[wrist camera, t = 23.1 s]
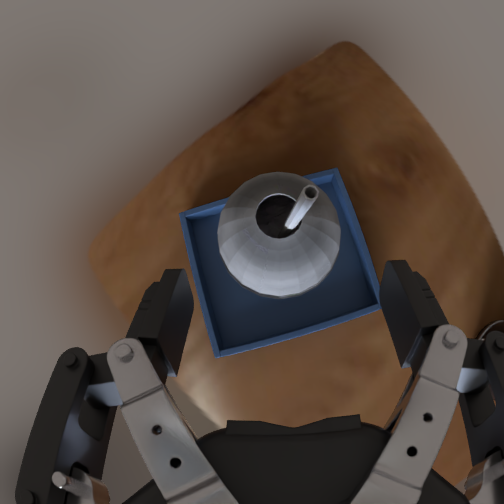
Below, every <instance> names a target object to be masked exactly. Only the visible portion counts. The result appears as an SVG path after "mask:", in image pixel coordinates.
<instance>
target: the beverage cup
mask: <svg viewBox="0 0 504 504" xmlns="http://www.w3.org/2000/svg"><path fill="white" fill-rule="evenodd" d="M217 234H218V237H217V238H218V246H219V253H220V257H221V259H222V261H223V263H224V265H225V267H226V269H227V271H228V273H229V274H230V275H231V276H232V277H233V278H234V279H235V280H236V281H237V282H238V283H239V284H240V285H241V286H242V287H243V288H245V289H247V290H249V291H251V292H253V293H255V294H257V295H259V296H261V297H268V298H275V299H285V298H290V297H296V296H301V295H302V294H304V293H306V292H308V291H310V290H312V289H314V288H315V287H317V286H318V285H319V284H320V283H321V282H322V281H323V280H324V279H325V278H326V277H327V276H328V275H329V274H330V272H331V271H332V269H333V266H334V264H335V262H336V260H337V258H338V255H339V249H340V239H341V228H340V224H339V220H338V215H337V211H336V209H335V207H334V206H333V204H332V202H331V201H330V199H329V197H328V196H327V194H326V193H325V192H324V191H323V190H321V189H320V188H319V187H318V186H317V185H316V184H314V183H313V182H312V181H310V180H308V179H306V178H304V177H301V176H299V175H297V174H292V173H284V172H273V173H267V174H261V175H258V176H256V177H254V178H252V179H250V180H248V181H246V182H244V183H243V184H242V185H241V186H240V187H239V188H238V189H237V190H236V191H235V192H234V193H233V194H231V196H230V197H229V199H228V201H227V202H226V204H225V206H224V208H223V210H222V211H221V215H220V220H219V225H218V231H217Z"/></svg>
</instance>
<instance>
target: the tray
mask: <svg viewBox="0 0 504 504" xmlns="http://www.w3.org/2000/svg"><path fill="white" fill-rule="evenodd" d="M302 177H304V178H306V179H308V180H310V181H312V182H313V183H314V184H316V185H317V186H318V187H319V188H320V189H321V190H323V191H324V192H325V193H326V194H327V196H328V197H329V199H330V201H331V202H332V204H333V206H334V207H335V209H336V211H337V215H338V220H339V224H340V228H341V239H340V249H339V255H338V258H337V260H336V262H335V264H334V266H333V269H332V271H331V272H330V274H329V275H328V276H327V277H326V278H325V279H324V280H323V281H322V282H321V283H320V284H319V285H318V286H317V287H315V288H314V289H312V290H310V291H308V292H306V293H304V294H302V295H301V296H296V297H290V298H285V299H275V298H268V297H261V296H259V295H257V294H255V293H253V292H251V291H249V290H247V289H245V288H243V287H242V286H241V285H240V284H239V283H238V282H237V281H236V280H235V279H234V278H233V277H232V276H231V275H230V274H229V273H228V271H227V269H226V267H225V265H224V263H223V261H222V259H221V257H220V253H219V246H218V238H217V237H218V234H217V231H218V225H219V220H220V215H221V211H222V210H223V208H224V206H225V204H226V202H227V201H228V199H229V197H228V198H224V199H221V200H218V201H215V202H212V203H208V204H205V205H202V206H199V207H196V208H193V209H190V210H187V211H185V212H181V213H179V216H180V221H181V225H182V230H183V235H184V239H185V243H186V248H187V252H188V257H189V261H190V265H191V269H192V273H193V278H194V282H195V286H196V290H197V294H198V297H199V301H200V305H201V309H202V313H203V317H204V320H205V324H206V328H207V331H208V335H209V338H210V342H211V346H212V349H213V352H214V356H215V358H219V357H224V356H228V355H232V354H236V353H240V352H244V351H248V350H252V349H256V348H260V347H264V346H267V345H271V344H275V343H278V342H282V341H285V340H289V339H292V338H296V337H299V336H302V335H306V334H309V333H312V332H315V331H319V330H322V329H325V328H328V327H331V326H334V325H337V324H340V323H343V322H346V321H349V320H352V319H355V318H357V317H360V316H363V315H366V314H369V313H371V312H374V311H377V310H379V309H382V308H381V305H380V301H379V290H380V286H379V282H378V279H377V276H376V272H375V269H374V266H373V263H372V260H371V257H370V254H369V251H368V248H367V245H366V242H365V239H364V236H363V233H362V230H361V227H360V224H359V222H358V219H357V216H356V214H355V211H354V208H353V206H352V203H351V200H350V198H349V195H348V193H347V190H346V188H345V185H344V183H343V180H342V178H341V175H340V173H339V171H338V168H333V169H329V170H325V171H321V172H317V173H313V174H309V175H305V176H302Z"/></svg>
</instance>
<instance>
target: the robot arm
mask: <svg viewBox="0 0 504 504" xmlns="http://www.w3.org/2000/svg"><path fill="white" fill-rule="evenodd" d="M430 289H431V288H430V287H429V285H428V283H427V281H426V279H425V278H423V277H422V276H421V275H420V274H419V273H418V272H412V270H411V269H410V267H409V265H408V263H407V262H406V260H392V261H387V262H386V264H385V269H384V273H383V278H382V282H381V286H380V290H379V301H380V305H381V308H382V311H383V314H384V316H385V319H386V322H387V325H388V328H389V331H390V334H391V337H392V340H393V343H394V346H395V349H396V352H397V356H398V359H399V362H400V366H401V368H407V367H411V369H412V374H411V376H410V378H409V380H408V382H407V385H406V387H405V389H404V391H403V393H402V395H401V397H400V399H399V401H398V403H397V405H396V407H395V409H394V411H393V413H392V415H391V416H390V418H389V419H388V421H387V423H386V424H385V426H384V428H381V427H379V426H376V425H373V424H369V423H365V422H361V420H360V414H357V415H350V416H341V417H331V418H326V419H323V420H320V421H317V422H313V423H310V424H307V425H303V426H300V427H296V428H292V427H286V426H281V425H276V424H271V423H267V422H262V421H236V420H227V427H226V428H223V429H219V430H216V431H213V432H211V433H208V434H206V435H204V436H203V437H201V438H199V439H198V437H197V436H196V434H195V433H194V431H193V430H192V428H191V427H190V425H189V424H188V422H187V421H186V419H185V418H184V416H183V414H182V413H181V411H180V410H179V408H178V406H177V404H176V403H175V401H174V399H173V397H172V395H171V394H170V392H169V390H168V388H167V387H166V385H165V383H166V379H167V376H172V377H177V374H178V370H179V366H180V362H181V357H182V353H183V349H184V345H185V341H186V337H187V334H188V330H189V326H190V322H191V318H192V314H193V309H194V300H193V295H192V292H191V288H190V285H189V281H188V278H187V274H186V271H185V269H166V270H165V271H164V273H163V275H162V278H161V280H160V282H154V283H153V284H152V285H151V286H150V287H149V288H148V289H147V290H146V291H145V293H144V296H143V298H142V302H140V305H139V307H138V310H137V311H136V314H135V316H134V318H133V321H132V323H131V325H130V328H129V330H128V332H127V335H126V338H124V339H120V340H118V341H117V342H115V343H114V344H113V345H112V346H111V347H110V349H109V351H108V352H106V353H102V354H96V355H91V356H88V354H87V353H86V352H85V351H84V350H83V349H82V348H78V347H75V348H70V349H68V350H66V351H65V352H64V353H63V354H62V355H61V356H60V357H59V359H58V361H57V364H56V366H55V368H54V371H53V373H52V376H51V378H50V381H49V383H48V385H47V388H46V390H45V393H44V396H43V398H42V401H41V404H40V406H39V410H38V412H37V415H36V418H35V421H34V425H33V427H32V430H31V433H30V436H29V440H28V443H27V446H26V450H25V453H24V457H23V461H22V465H21V469H20V473H19V477H18V481H17V486H16V491H15V499H16V503H17V504H109V502H110V497H109V493H108V489H107V487H106V486H105V484H104V483H103V482H102V481H101V480H102V474H103V468H104V463H105V458H106V453H107V449H108V444H109V440H110V435H111V431H112V426H113V422H114V418H115V414H116V410H117V406H118V405H121V411H122V414H123V416H124V418H125V421H126V423H127V425H128V428H129V430H130V432H131V434H132V437H133V439H134V441H135V443H136V445H137V447H138V450H139V452H140V453H141V456H142V458H143V460H144V462H145V464H146V466H147V467H148V469H149V471H150V473H151V475H152V477H153V479H152V480H151V481H150V482H148V483H147V484H146V485H145V486H143V488H141V489H140V490H139V491H137V492H136V493H135V494H134V495H133V496H131V497H130V498H129V499H127V500H126V501H125V502H123V503H122V504H504V320H498V321H494V322H491V323H489V324H488V325H487V326H486V327H484V328H483V329H482V331H481V332H480V333H479V335H478V336H477V338H476V339H469V338H466V336H465V334H464V333H463V332H462V331H461V330H460V329H459V328H458V327H456V326H453V325H449V323H448V321H447V319H446V317H445V315H444V313H443V311H442V309H441V307H440V305H439V303H438V301H437V299H436V298H435V296H434V294H433V292H432V290H430ZM458 400H459V403H460V407H461V411H462V415H463V420H464V424H465V428H466V433H467V438H468V443H469V448H470V454H471V460H472V466H473V468H472V469H471V470H470V472H469V474H468V477H467V481H466V482H465V485H464V487H465V490H466V492H465V494H464V495H463V494H462V493H461V492H460V491H459V490H457V489H456V488H455V487H454V486H453V485H451V484H450V483H449V482H448V481H446V480H445V479H444V478H443V477H442V476H440V475H439V474H438V473H437V472H436V471H434V470H433V469H432V465H433V463H434V461H435V459H436V457H437V454H438V452H439V450H440V447H441V445H442V443H443V440H444V438H445V435H446V433H447V430H448V427H449V425H450V422H451V419H452V416H453V413H454V410H455V407H456V404H457V401H458ZM493 400H495V401H496V408H495V404H494V401H493Z"/></svg>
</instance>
